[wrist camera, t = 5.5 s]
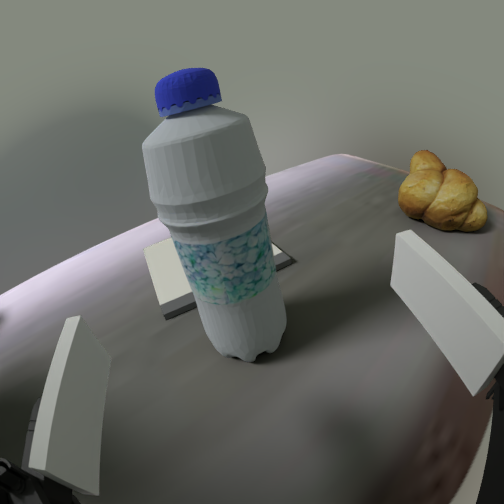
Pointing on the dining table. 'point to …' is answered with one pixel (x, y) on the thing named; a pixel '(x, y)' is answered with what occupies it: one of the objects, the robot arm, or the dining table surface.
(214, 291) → the bottle
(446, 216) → the bread roll
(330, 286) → the dining table surface
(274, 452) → the dining table surface
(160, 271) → the mat
